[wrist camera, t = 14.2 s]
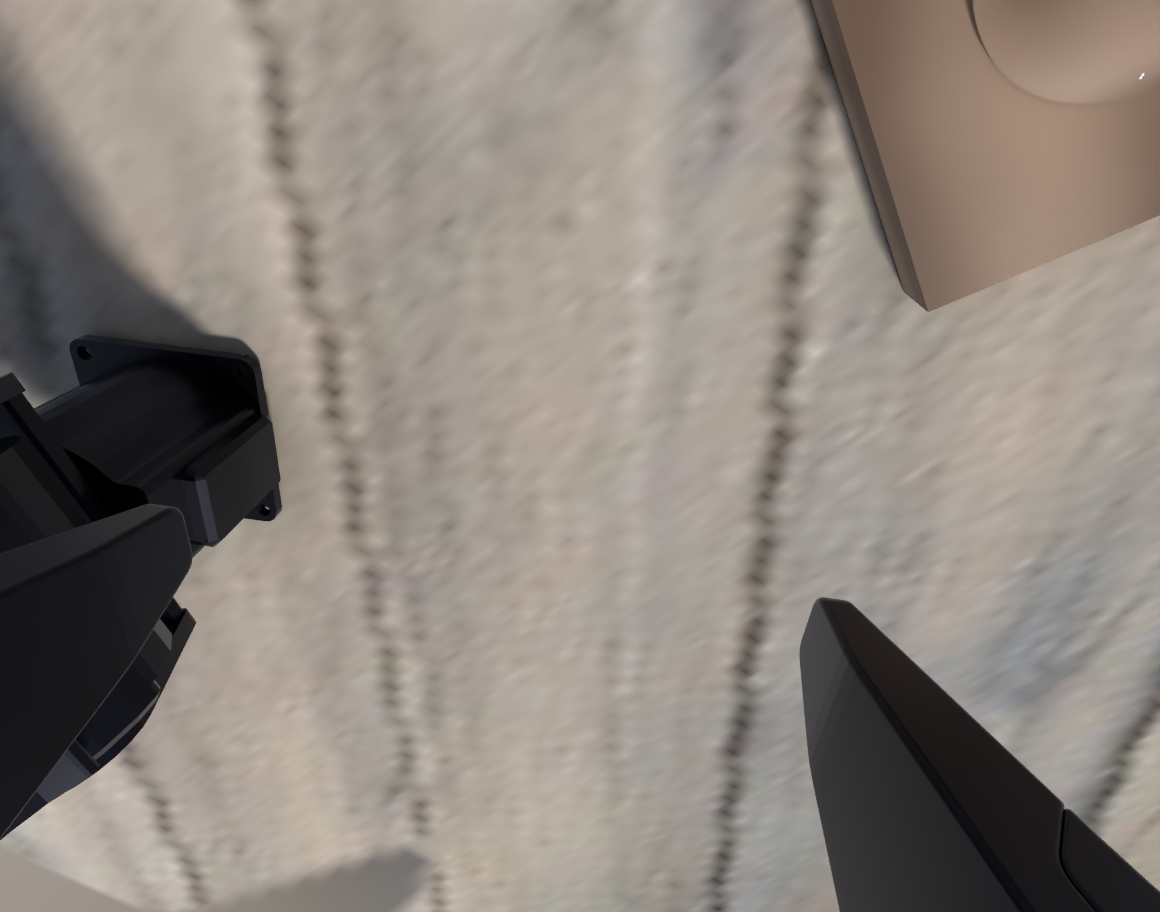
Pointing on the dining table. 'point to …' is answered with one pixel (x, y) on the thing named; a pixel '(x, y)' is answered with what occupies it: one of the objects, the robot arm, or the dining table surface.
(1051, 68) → the beer glass
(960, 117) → the walnut board
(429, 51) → the dining table surface
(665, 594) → the dining table surface
